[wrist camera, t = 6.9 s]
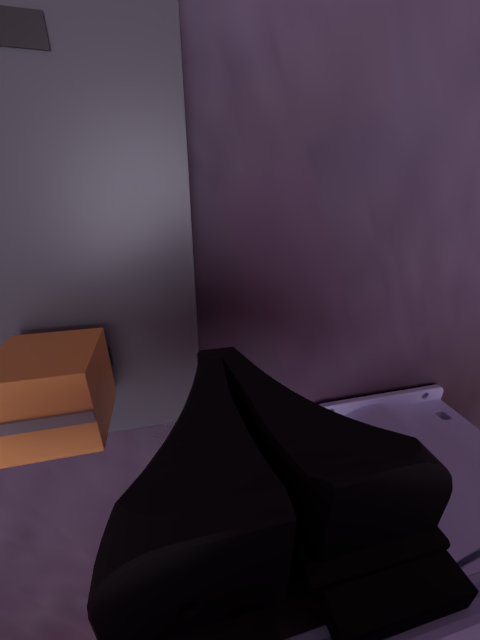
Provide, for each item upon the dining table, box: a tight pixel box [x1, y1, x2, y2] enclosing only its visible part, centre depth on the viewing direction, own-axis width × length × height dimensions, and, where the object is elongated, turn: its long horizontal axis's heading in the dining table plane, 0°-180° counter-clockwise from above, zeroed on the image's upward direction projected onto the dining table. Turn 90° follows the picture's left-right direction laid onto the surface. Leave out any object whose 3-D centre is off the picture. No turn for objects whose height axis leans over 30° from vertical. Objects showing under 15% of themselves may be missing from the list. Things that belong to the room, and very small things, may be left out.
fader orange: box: [0, 327, 117, 469], centre depth 10 cm, size 3×3×3 cm
